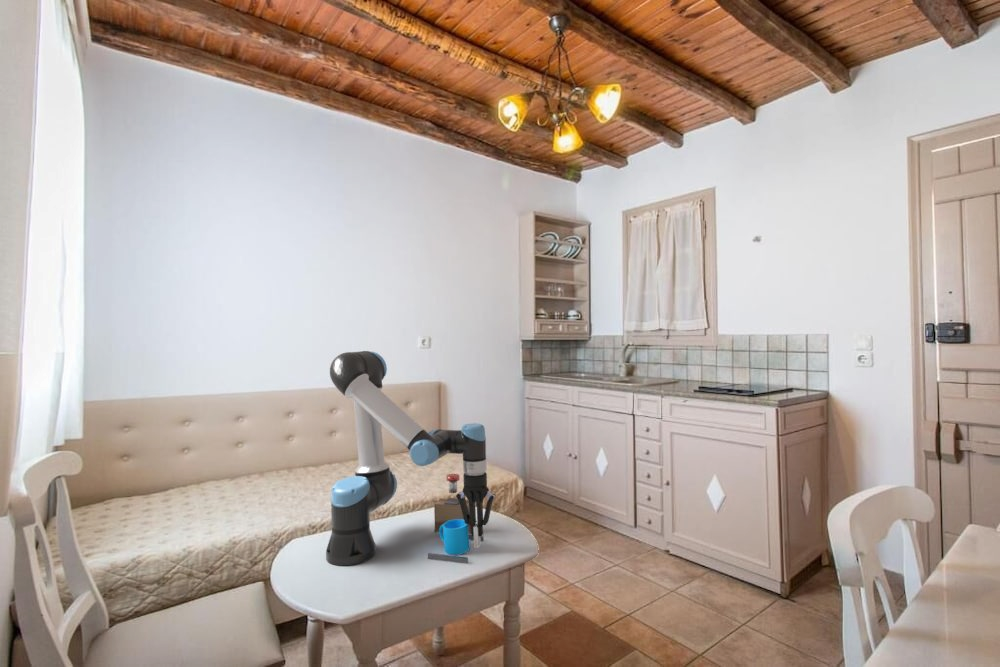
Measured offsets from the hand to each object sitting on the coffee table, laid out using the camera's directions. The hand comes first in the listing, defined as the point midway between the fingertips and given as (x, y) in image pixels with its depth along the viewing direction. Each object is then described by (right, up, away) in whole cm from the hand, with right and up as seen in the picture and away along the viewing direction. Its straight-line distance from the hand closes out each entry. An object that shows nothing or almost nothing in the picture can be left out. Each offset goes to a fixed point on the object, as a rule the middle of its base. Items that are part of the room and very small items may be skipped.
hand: (477, 545), depth 156 cm
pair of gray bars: (-7, -2, +2) cm, 7 cm away
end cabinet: (-9, -2, +17) cm, 20 cm away
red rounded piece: (-9, +11, +17) cm, 23 cm away
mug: (-8, -2, +3) cm, 9 cm away
